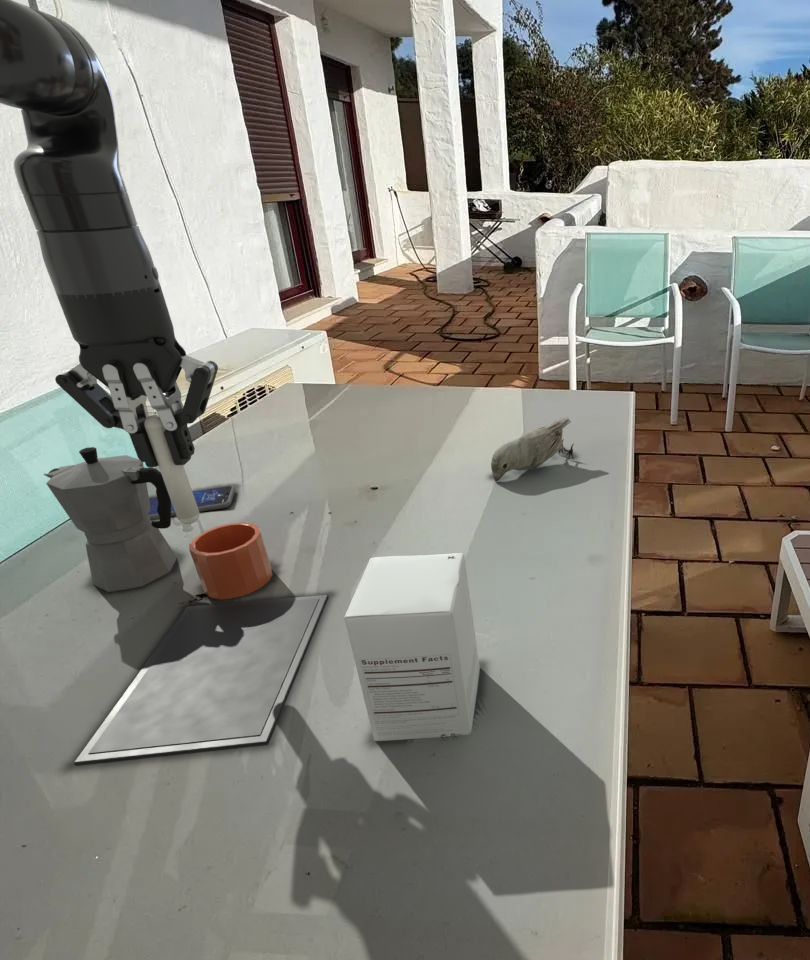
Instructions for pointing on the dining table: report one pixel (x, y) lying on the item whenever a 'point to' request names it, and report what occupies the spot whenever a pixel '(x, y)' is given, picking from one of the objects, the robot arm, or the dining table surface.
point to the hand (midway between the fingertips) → (170, 462)
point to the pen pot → (231, 560)
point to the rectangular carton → (415, 646)
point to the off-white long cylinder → (172, 473)
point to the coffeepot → (116, 518)
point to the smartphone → (201, 500)
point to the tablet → (211, 681)
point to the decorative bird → (530, 449)
